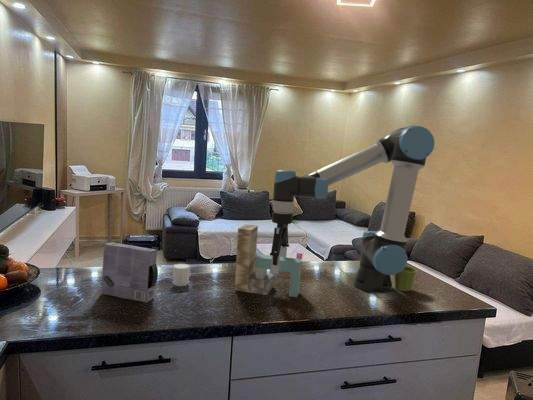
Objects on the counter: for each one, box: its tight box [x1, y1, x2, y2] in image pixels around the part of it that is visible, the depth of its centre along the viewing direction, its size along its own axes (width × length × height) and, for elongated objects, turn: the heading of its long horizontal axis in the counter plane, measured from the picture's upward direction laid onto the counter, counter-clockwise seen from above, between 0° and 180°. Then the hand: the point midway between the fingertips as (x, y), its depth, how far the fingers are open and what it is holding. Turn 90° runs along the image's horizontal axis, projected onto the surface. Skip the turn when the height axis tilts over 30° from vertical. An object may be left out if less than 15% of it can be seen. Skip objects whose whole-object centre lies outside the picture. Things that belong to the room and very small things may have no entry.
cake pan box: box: [100, 241, 159, 304], centre depth 132 cm, size 19×5×18 cm, turn 74°
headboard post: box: [234, 224, 274, 296], centre depth 147 cm, size 12×10×24 cm
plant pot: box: [394, 265, 418, 292], centre depth 159 cm, size 9×9×9 cm
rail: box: [256, 253, 302, 298], centre depth 146 cm, size 16×5×13 cm, turn 76°
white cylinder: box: [171, 263, 191, 287], centre depth 149 cm, size 7×7×7 cm
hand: (278, 268), depth 146 cm, fingers open, 13 cm apart
